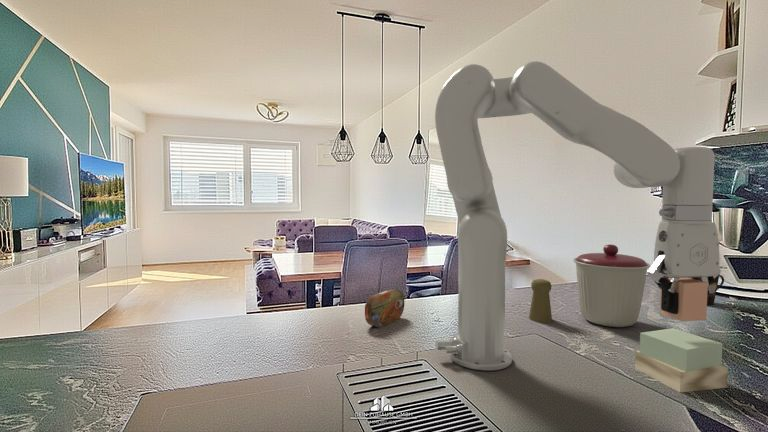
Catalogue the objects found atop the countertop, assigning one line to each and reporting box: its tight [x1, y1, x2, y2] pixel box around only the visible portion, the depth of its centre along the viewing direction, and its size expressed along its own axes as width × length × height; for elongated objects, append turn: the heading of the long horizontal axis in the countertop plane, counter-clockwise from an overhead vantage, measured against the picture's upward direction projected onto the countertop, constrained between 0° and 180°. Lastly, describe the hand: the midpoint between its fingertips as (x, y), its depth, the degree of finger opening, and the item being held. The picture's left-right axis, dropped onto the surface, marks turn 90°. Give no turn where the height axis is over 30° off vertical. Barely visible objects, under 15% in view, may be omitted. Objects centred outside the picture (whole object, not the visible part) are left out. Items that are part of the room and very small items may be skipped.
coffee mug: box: [697, 273, 725, 306], centre depth 129 cm, size 12×9×10 cm
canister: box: [572, 243, 651, 328], centre depth 110 cm, size 18×18×21 cm
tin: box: [364, 288, 405, 328], centre depth 110 cm, size 15×3×8 cm, turn 143°
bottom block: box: [634, 349, 729, 393], centre depth 77 cm, size 10×10×4 cm
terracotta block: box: [659, 278, 708, 322], centre depth 77 cm, size 5×5×7 cm
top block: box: [639, 327, 724, 372], centre depth 77 cm, size 9×9×4 cm
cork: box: [528, 278, 553, 324], centre depth 113 cm, size 6×6×11 cm
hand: (682, 310), depth 77 cm, fingers closed on terracotta block, 5 cm apart
